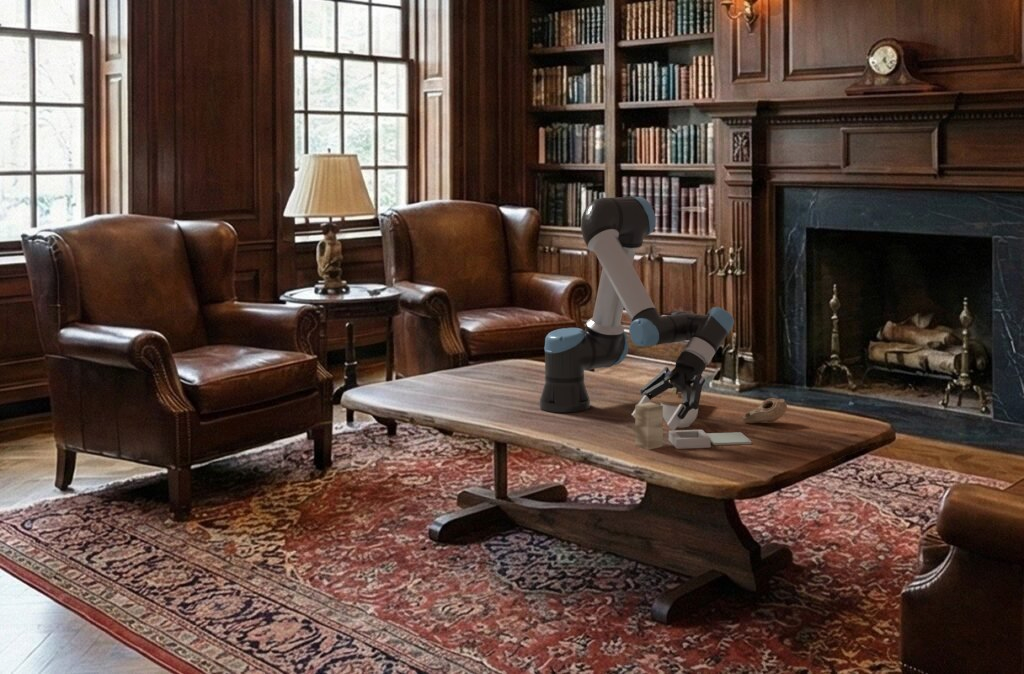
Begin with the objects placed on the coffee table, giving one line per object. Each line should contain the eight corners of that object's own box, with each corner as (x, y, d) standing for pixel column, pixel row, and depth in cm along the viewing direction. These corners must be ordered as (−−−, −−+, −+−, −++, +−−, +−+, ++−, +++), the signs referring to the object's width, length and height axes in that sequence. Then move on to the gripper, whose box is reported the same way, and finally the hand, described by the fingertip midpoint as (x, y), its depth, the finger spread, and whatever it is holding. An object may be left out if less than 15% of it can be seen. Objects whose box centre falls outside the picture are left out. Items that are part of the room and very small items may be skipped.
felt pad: (714, 445, 295) (714, 443, 295) (704, 435, 305) (704, 433, 305) (751, 443, 296) (751, 441, 296) (740, 434, 306) (740, 432, 306)
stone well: (676, 448, 292) (676, 439, 292) (668, 439, 301) (668, 430, 301) (710, 447, 293) (710, 438, 293) (701, 438, 302) (702, 429, 302)
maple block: (635, 445, 296) (635, 404, 294) (649, 442, 299) (649, 402, 297) (648, 449, 292) (648, 408, 290) (662, 446, 295) (662, 405, 293)
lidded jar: (656, 428, 314) (656, 395, 312) (665, 419, 324) (665, 387, 322) (694, 431, 310) (694, 397, 309) (702, 421, 320) (702, 389, 318)
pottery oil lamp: (742, 418, 323) (743, 394, 322) (785, 420, 321) (786, 396, 319) (742, 426, 314) (743, 401, 313) (786, 427, 312) (787, 403, 311)
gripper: (736, 374, 292) (693, 440, 286) (669, 360, 312) (628, 422, 306) (721, 356, 288) (678, 423, 282) (655, 343, 308) (613, 405, 302)
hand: (652, 422), depth 294 cm, fingers open, 13 cm apart
